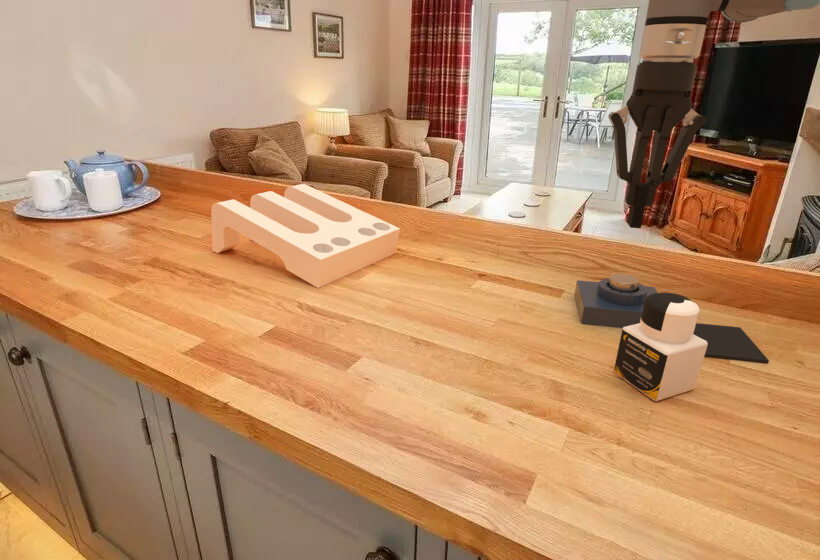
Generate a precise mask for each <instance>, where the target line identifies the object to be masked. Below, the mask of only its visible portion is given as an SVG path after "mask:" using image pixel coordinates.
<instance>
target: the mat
mask: <svg viewBox="0 0 820 560" xmlns="http://www.w3.org/2000/svg"><path fill="white" fill-rule="evenodd" d="M693 334H694V335H696V336H698V337H699V338H701V339H703V340H705V341H707V343H708V345H707V349H706V352H705V356H704V358H710V359H720V360H727V361H728V360H729V361H737V362H739V361H740V362H747V363H755V364H756V363H758V364H764V365H766V364H767V365H768V364H769V362H770V360H769V359H768V357H767V356H766V355H765V354H764V353H763V352H762V351H761V349H760V348H759V347H758V345H756V344H755V342H754V341H753V340H752V338H750V337H749V336H748V335H747V333H746V332H745V331H744V330H743V329H742V327H740V326H730V325H721V324H712V323H711V324H710V323H702V322H701V323H700V322H696V325H695V329H694V333H693Z"/></svg>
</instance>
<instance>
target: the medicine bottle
mask: <svg viewBox="0 0 820 560" xmlns="http://www.w3.org/2000/svg"><path fill="white" fill-rule="evenodd" d="M699 314H700V307H699V305H698V304H697V303H696V302H695V301H694V300H692V299H691V298H688V297H686V296H684V295H681V294H678V293H674V292H658V293H654V294H651V295H649V296H647V297H646V298H645V302H644V306H643V311H642V315H641V320H640V323H638V324H634V325H630V326H626V327H623V328H621V333H620V338H619V344H618V348H617V353H616V358H615V363H614V368H613V373H614V374H615V375H616V376H618V377H619V378H621V379H622V380H623V381H625V382H626V383H628V384H629V385H631V386H632V387H634V388H635V389H636V390H638V391H639V392H640V393H642V394H643V395H645V396H646V397H648V398H649V399H650V400H652V401H653V402H658V401H662V400H665V399H668V398H671V397H674V396H677V395H680V394H683V393H686V392H689V391H693V390H695V389H696V386H697V384H698V380H699V376H700V373H701V369H702V366H703V362H704V359H705V357H704V356H705V352H706V349H707V345H708V343H707V341H705V340H703V339H701V338H699V337H698V336H696V335H694V334H693V333H694V329H695V325H696V323H698V317H699Z"/></svg>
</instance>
